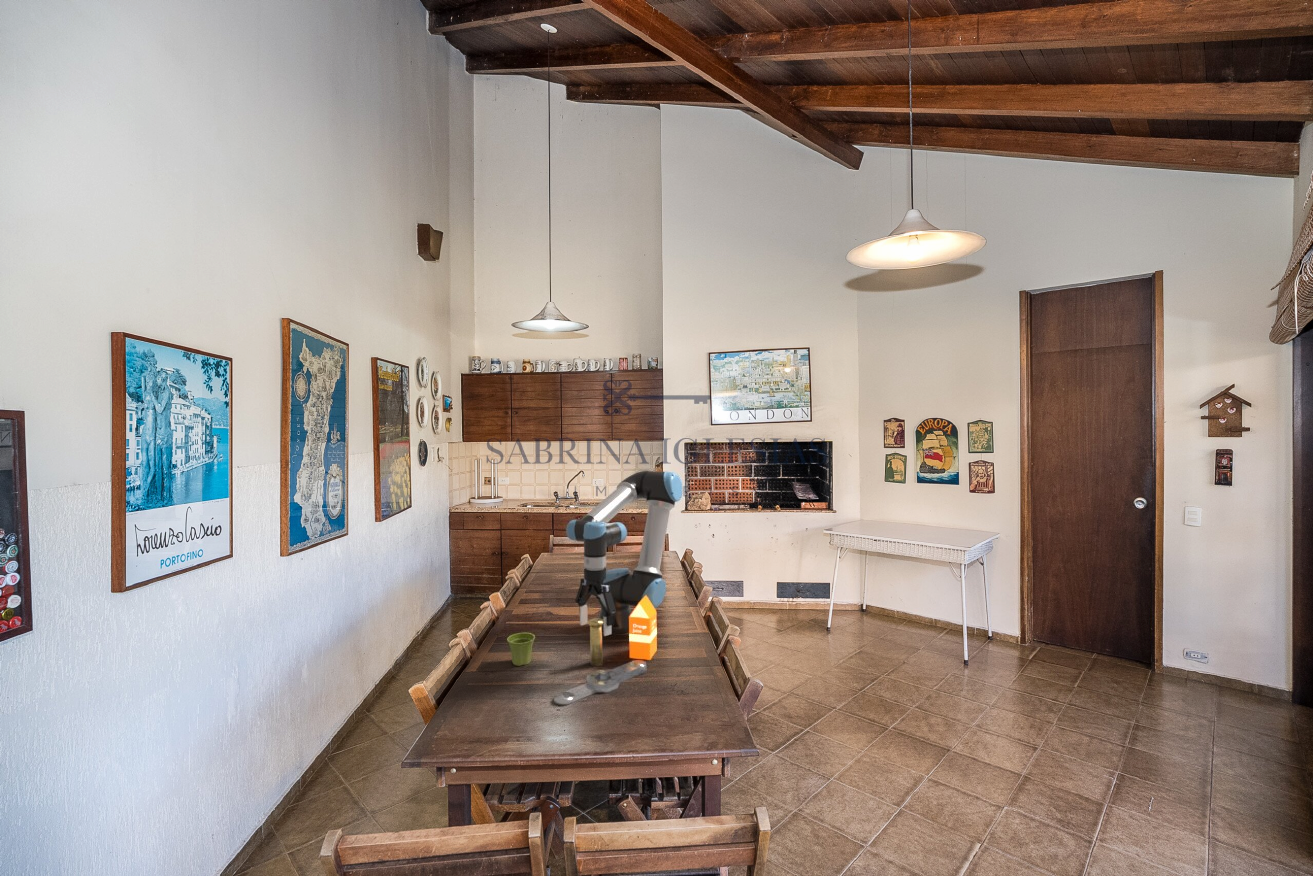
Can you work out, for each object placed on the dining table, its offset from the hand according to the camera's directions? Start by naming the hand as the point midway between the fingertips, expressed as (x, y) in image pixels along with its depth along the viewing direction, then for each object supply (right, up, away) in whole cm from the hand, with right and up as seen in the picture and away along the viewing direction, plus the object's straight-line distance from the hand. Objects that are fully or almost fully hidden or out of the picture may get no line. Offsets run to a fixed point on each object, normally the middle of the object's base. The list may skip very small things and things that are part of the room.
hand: (595, 629), depth 201 cm
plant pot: (-26, -12, +3) cm, 29 cm away
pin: (0, -12, +1) cm, 12 cm away
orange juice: (+16, -12, +9) cm, 22 cm away
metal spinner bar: (+4, -13, -15) cm, 20 cm away
